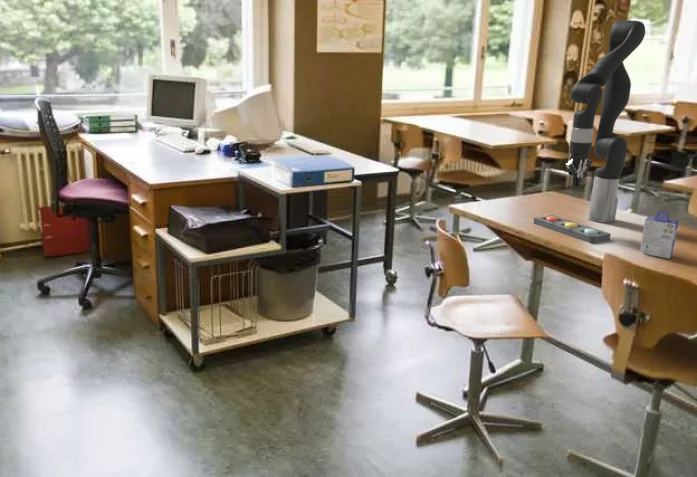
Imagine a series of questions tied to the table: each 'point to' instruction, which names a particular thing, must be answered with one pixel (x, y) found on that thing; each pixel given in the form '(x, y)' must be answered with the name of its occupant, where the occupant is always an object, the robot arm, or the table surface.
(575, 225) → the ochre button
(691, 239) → the table surface
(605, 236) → the button panel
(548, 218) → the red button
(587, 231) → the teal button
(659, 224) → the ink cartridge box
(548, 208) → the table surface
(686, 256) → the table surface
